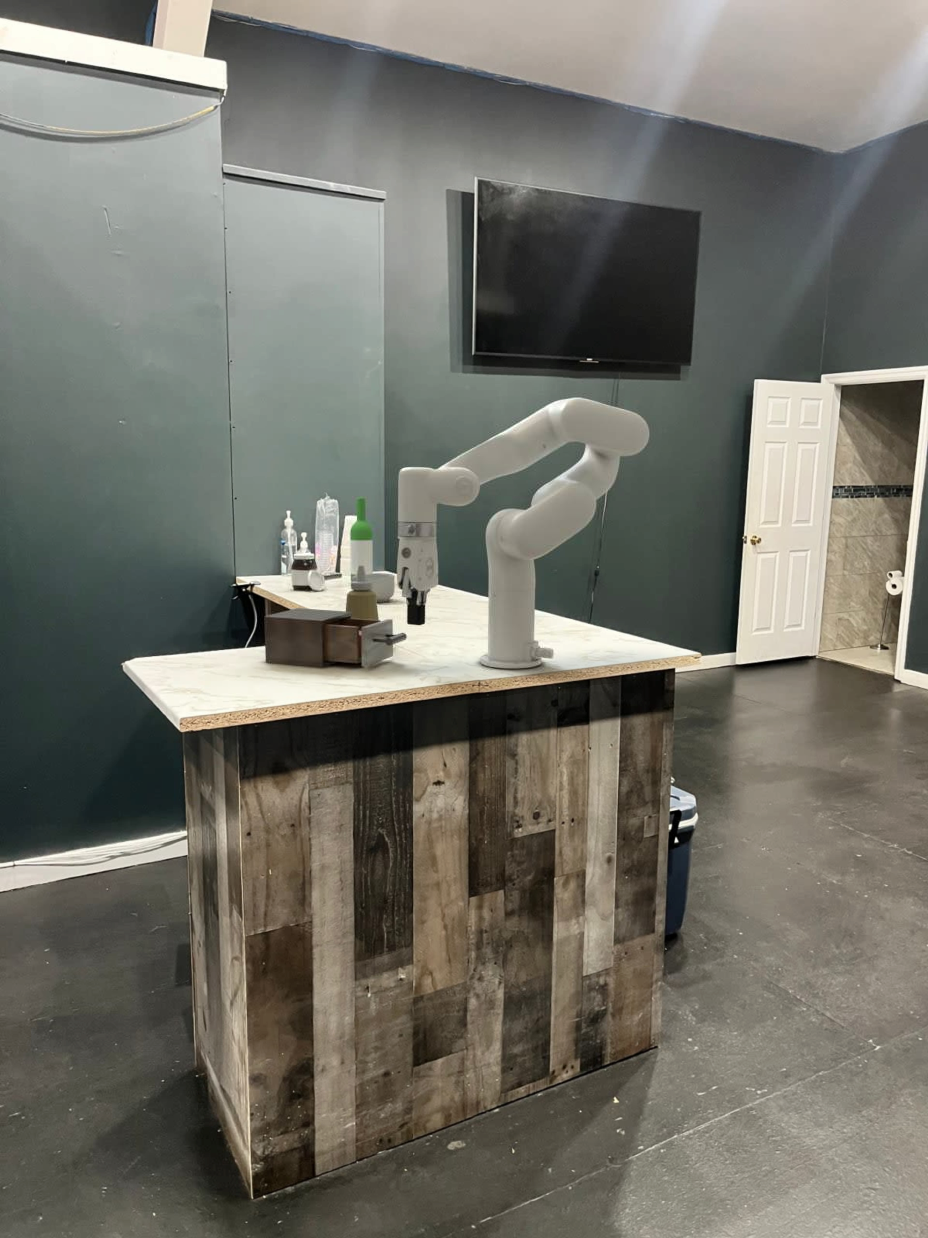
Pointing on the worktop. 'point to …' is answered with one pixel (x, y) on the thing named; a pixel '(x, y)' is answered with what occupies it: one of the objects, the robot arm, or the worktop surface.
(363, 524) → the wine bottle
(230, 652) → the worktop surface
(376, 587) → the teacup
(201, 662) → the worktop surface
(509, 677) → the worktop surface
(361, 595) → the squeeze bottle
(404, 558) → the robot arm
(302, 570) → the spread jar
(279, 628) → the cabinet
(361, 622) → the drawer
